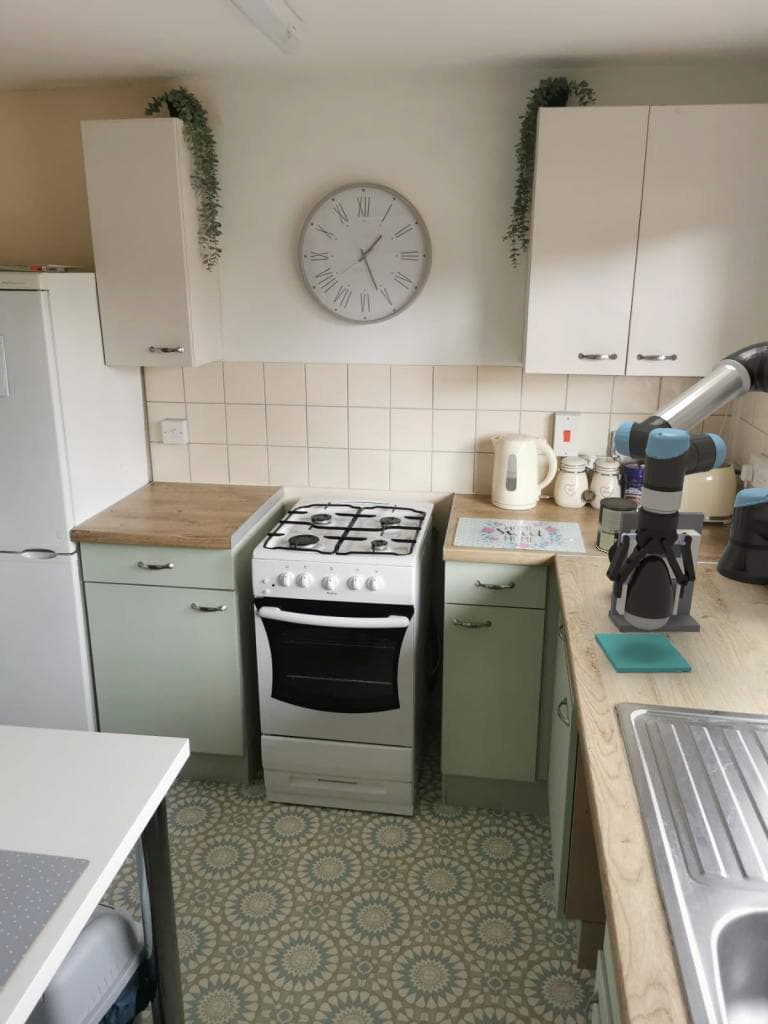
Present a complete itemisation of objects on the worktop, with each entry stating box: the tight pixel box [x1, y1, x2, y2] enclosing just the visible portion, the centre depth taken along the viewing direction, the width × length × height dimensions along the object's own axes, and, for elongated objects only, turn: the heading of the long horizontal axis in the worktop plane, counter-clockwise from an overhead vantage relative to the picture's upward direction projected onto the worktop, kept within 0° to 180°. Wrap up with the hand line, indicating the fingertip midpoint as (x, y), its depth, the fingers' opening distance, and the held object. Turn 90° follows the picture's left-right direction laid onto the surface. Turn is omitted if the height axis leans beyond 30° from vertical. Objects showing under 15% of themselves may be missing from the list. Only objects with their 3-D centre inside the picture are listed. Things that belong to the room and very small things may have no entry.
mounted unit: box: [607, 511, 705, 633], centre depth 169 cm, size 18×8×26 cm, turn 92°
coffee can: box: [595, 496, 639, 552], centre depth 218 cm, size 10×10×14 cm
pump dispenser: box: [624, 554, 674, 630], centre depth 155 cm, size 10×10×15 cm
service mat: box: [594, 633, 693, 673], centre depth 159 cm, size 15×15×1 cm
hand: (646, 612), depth 156 cm, fingers closed on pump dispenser, 10 cm apart
